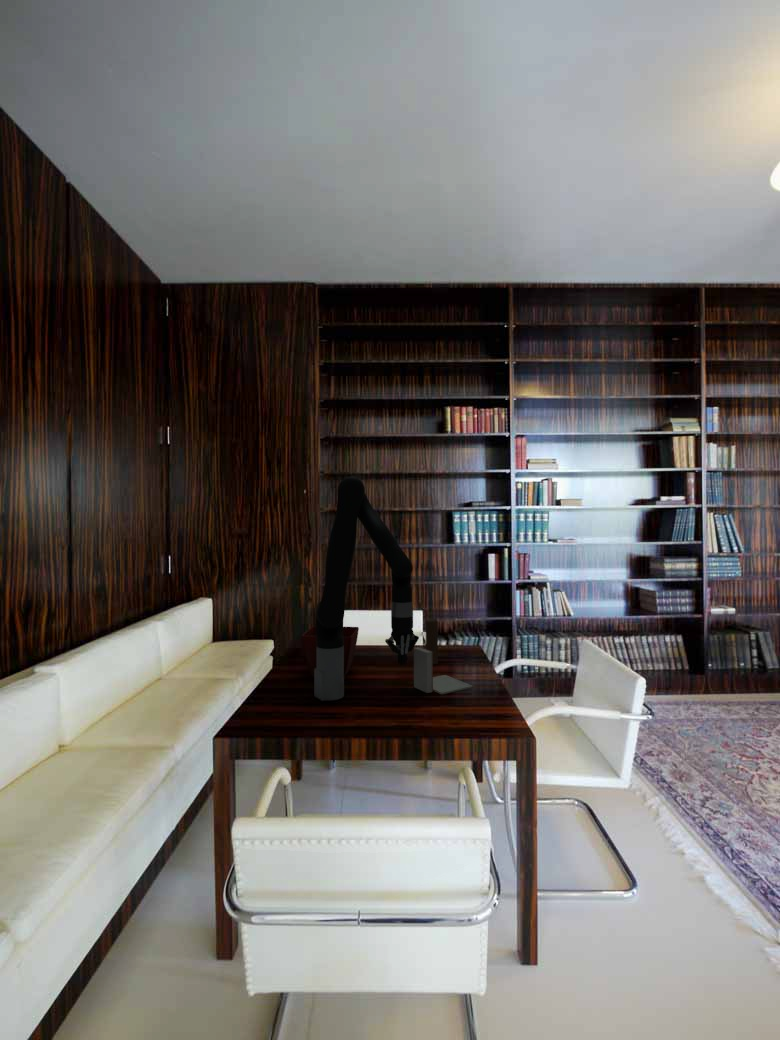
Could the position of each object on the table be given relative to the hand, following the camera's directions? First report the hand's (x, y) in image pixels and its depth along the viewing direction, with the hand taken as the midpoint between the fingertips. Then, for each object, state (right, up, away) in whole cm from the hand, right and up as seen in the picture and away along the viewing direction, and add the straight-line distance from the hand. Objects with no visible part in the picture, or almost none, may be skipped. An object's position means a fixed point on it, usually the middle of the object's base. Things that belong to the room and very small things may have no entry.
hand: (402, 664), depth 184 cm
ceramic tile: (+7, -10, +5) cm, 13 cm away
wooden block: (+11, -10, +39) cm, 42 cm away
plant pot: (-27, -10, +24) cm, 38 cm away
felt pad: (+15, -10, +9) cm, 20 cm away
